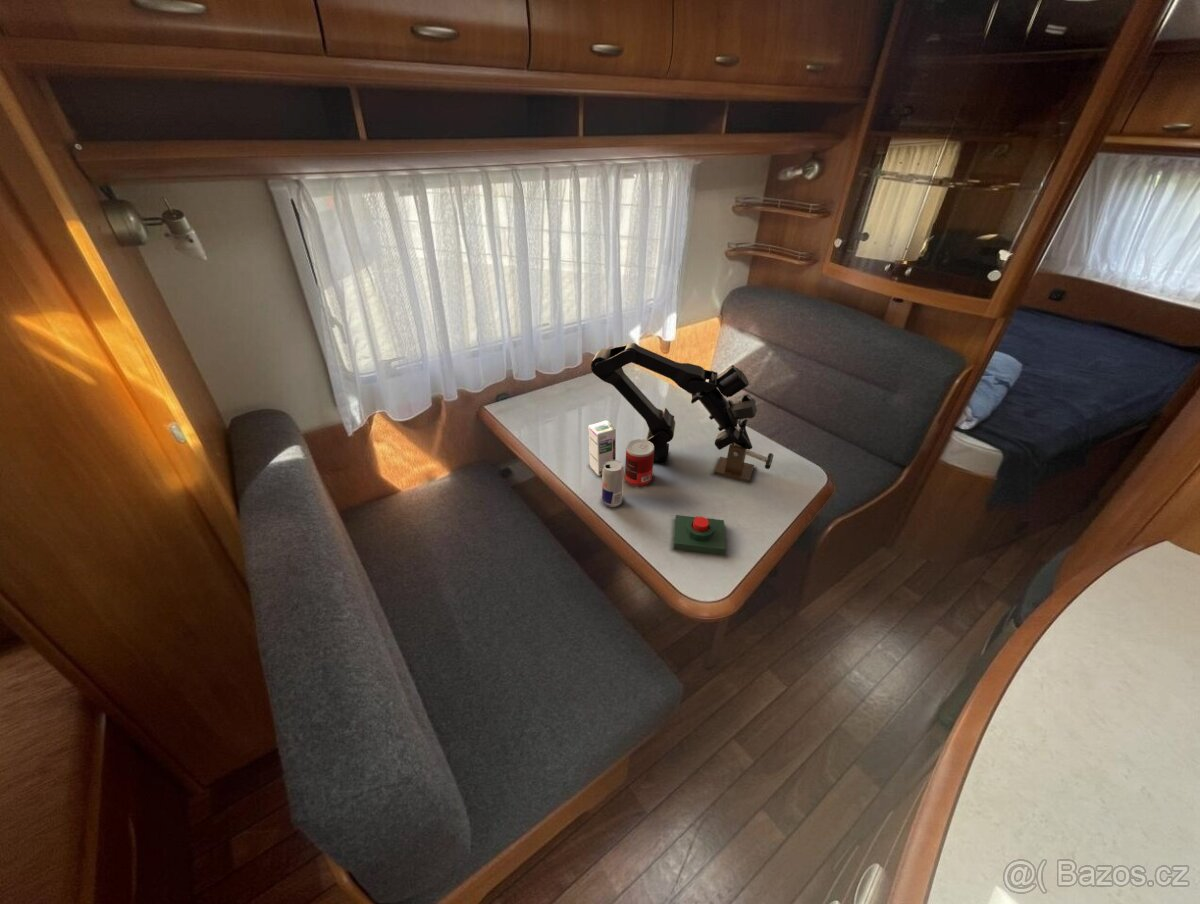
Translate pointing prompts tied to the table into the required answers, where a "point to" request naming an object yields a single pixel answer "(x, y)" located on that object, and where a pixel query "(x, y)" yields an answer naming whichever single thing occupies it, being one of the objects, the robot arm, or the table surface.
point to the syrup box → (601, 445)
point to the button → (700, 524)
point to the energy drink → (612, 483)
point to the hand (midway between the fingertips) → (750, 448)
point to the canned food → (639, 462)
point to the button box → (699, 536)
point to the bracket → (734, 465)
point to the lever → (760, 457)
